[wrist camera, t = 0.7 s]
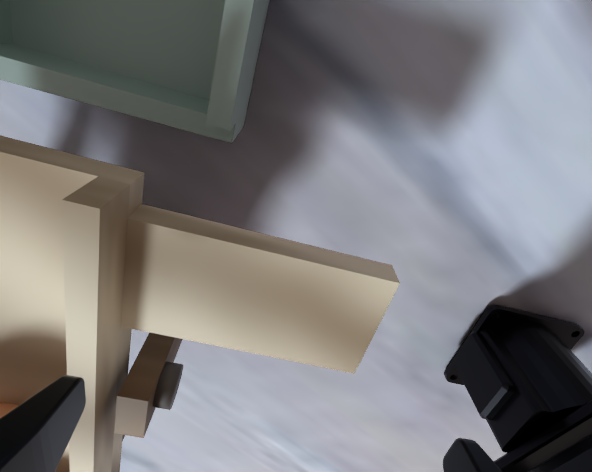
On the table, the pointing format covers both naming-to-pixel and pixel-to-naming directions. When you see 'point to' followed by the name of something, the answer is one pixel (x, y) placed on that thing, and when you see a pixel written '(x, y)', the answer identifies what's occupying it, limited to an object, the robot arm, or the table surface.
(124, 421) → the lever stand
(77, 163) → the tipping lever
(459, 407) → the table surface
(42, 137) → the table surface
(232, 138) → the bin
